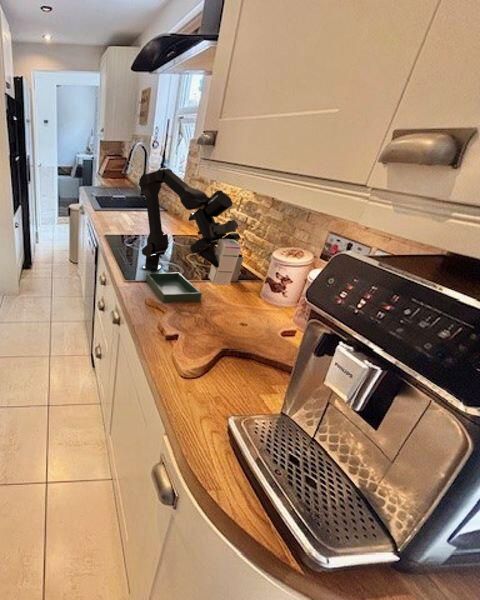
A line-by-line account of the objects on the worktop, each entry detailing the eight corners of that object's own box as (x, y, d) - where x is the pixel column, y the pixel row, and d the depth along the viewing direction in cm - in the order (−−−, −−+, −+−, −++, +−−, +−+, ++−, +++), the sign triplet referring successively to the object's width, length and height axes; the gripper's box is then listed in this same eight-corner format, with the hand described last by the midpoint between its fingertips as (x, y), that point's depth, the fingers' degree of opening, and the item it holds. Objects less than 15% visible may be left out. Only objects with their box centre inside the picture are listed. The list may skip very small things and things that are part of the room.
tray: (145, 280, 130) (146, 273, 128) (177, 279, 131) (179, 272, 130) (163, 302, 112) (164, 294, 111) (200, 300, 114) (201, 293, 113)
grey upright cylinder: (225, 280, 131) (230, 255, 127) (226, 276, 135) (231, 252, 130) (237, 282, 130) (243, 257, 125) (238, 278, 133) (244, 254, 129)
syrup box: (229, 286, 110) (243, 245, 103) (212, 284, 110) (225, 244, 103) (223, 278, 115) (236, 239, 108) (207, 277, 115) (218, 238, 108)
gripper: (203, 213, 101) (225, 258, 97) (242, 209, 109) (263, 250, 106) (181, 232, 111) (199, 273, 107) (218, 226, 119) (237, 264, 115)
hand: (225, 265), depth 109 cm, fingers closed on syrup box, 7 cm apart
